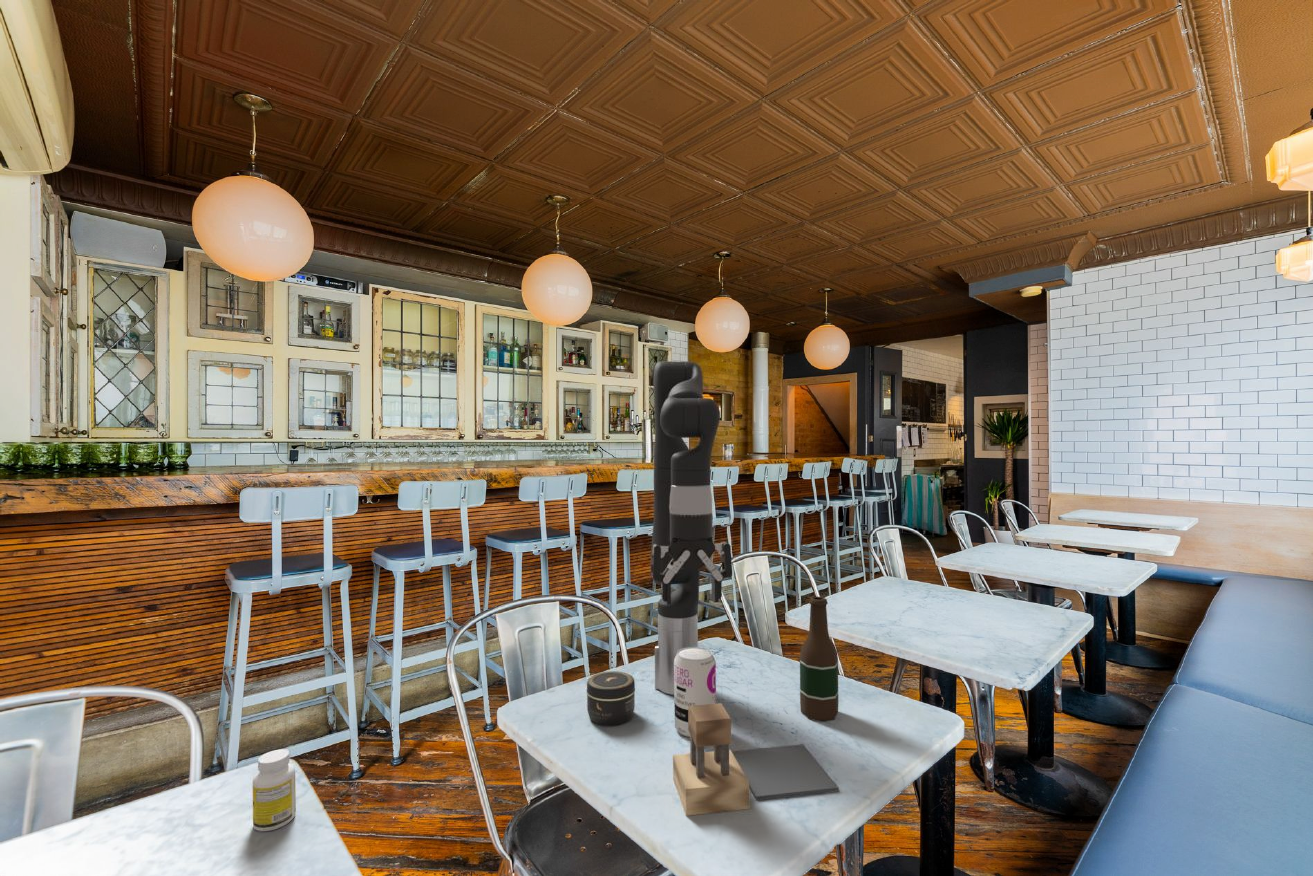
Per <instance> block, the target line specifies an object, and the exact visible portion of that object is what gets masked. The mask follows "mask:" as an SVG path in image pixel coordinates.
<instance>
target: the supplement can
mask: <svg viewBox="0 0 1313 876" xmlns="http://www.w3.org/2000/svg"><path fill="white" fill-rule="evenodd" d="M716 662H717V661H716V659H715V657H714V654H713V652H712V650H710V649H707V648H705V647H701V646H700V647H699V646H698V647H688V648H683V649H681V650H679V651H678V652H677V655H676V657H675V659H674V695H673V697H674V700H673V701H674V728H675V729H676V731H678V733H679V734H680V735H682V736H684V737H687V738H690V733H689V730H688V706H694V705H706V704H717V669H716V668H717V667H716V664H717V663H716Z"/></svg>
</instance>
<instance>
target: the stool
mask: <svg viewBox="0 0 1313 876" xmlns="http://www.w3.org/2000/svg"><path fill="white" fill-rule="evenodd" d="M688 730H689V733H690V737H689V738H690V739H689V741H690V744H689V745H690V746H689V747H690V752H689V754H690V760H691V764H692V765H696V776H697V778H698V779H699V778H705V757H704V752H705V747H713V751H714V760H715V762H716V763H717V762H721V774H722V776H728V775H729V750H730V745H731V744H732V718H731V716H730V715H729V714H728V712H727V711H726V708H725V707H724V705H723V704H722V703H721V702H720V703H718V702H717V703H716V704H706V705H694V706H688Z"/></svg>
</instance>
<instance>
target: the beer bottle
mask: <svg viewBox="0 0 1313 876" xmlns="http://www.w3.org/2000/svg"><path fill="white" fill-rule="evenodd" d="M808 604H810V613H809V628H808V629H809V630H808V634H807V638H806V639H805V641H803V644H802V646H801V648H800V651H799V652H800V654H799V699H800V700H799V703H800V704H799V706H800V713H801V714H802V715H804V716H805V717H806V718H807V719H808V720H811V721H812V720H813V721H818V722H823V723H824V722H829V721H834V720H835V719H836V718H837V715H838V713H839V658H838V651H837V647H836V645H835V644H834V642H833V640H832V639H831V638H830V634H829V625H828V610H827V605H828V604H829V603H828V599H827V598H825V597H823V596H812V597H810V599H809V602H808Z"/></svg>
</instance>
